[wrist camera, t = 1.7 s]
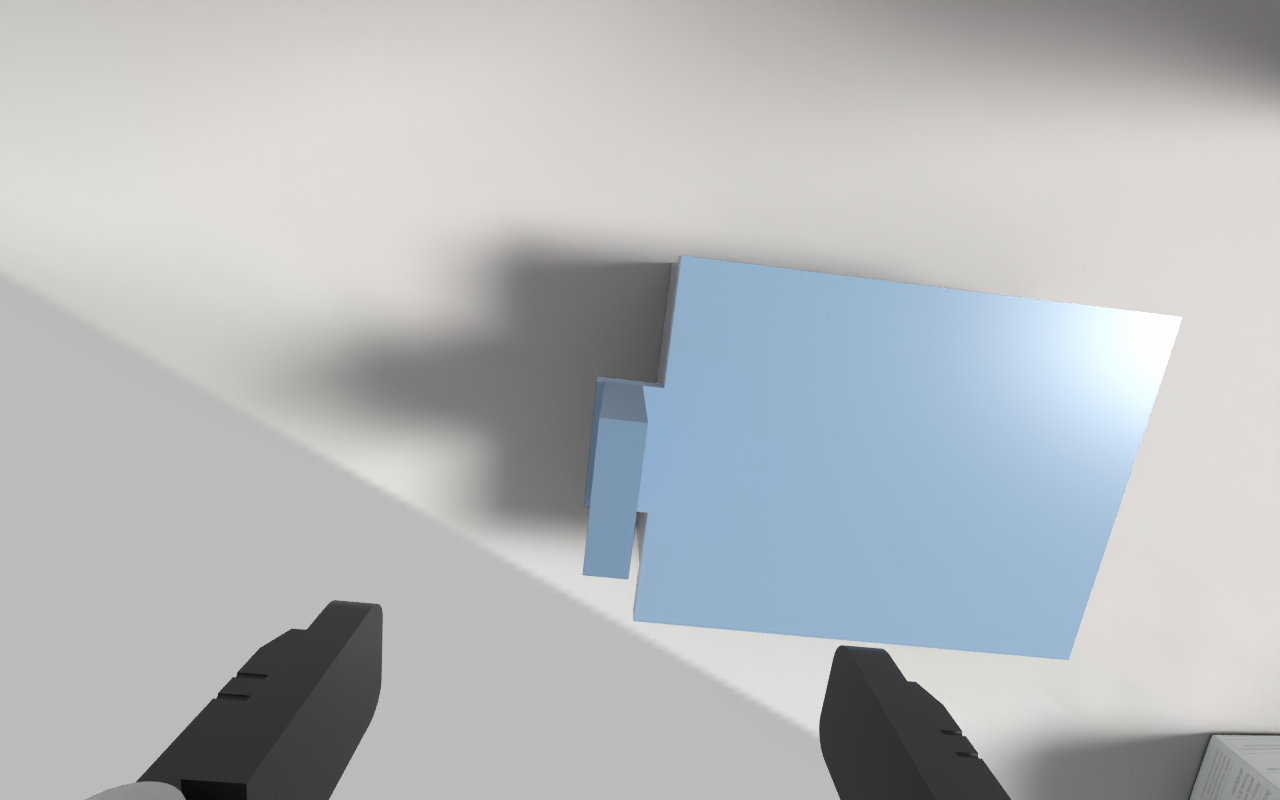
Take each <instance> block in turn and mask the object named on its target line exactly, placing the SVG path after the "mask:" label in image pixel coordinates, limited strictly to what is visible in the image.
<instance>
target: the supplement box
mask: <svg viewBox="0 0 1280 800" xmlns="http://www.w3.org/2000/svg"><path fill="white" fill-rule="evenodd" d="M1190 800H1280V736H1251V735H1213V736H1212V737H1211V740H1210V742H1209V745H1208V748H1207V750H1206V753H1205V756H1204V759H1203V762H1202V765H1201V768H1200V770H1199V773H1198V777H1197V779H1196V782H1195V785H1194V787H1193V791H1192V794H1191V797H1190Z"/></svg>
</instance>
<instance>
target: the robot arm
mask: <svg viewBox="0 0 1280 800" xmlns="http://www.w3.org/2000/svg"><path fill="white" fill-rule="evenodd" d="M382 617H383V615H382V608H381V606H380V605H379V604H371V603H359V602H348V601H336V600H334V601H332V602H330V603H329V604H328V605H327V606H326V608H325V609H324V610H323V611H322V612H321V614H320V615H319V616H318V617H317V618H316V619H315V620H314V622H313V623H312V624H311V625H310V627H309V628H308V629H307V630H301V629H291V630H289V631H287V632H286V633H284V634H282V635H281V636H279V637H277V638H276V639H274V640H272V641H271V642H269V643H268V644H266V645H264V646H263V647H261V648H260V649H259V650H258V651H257V652H256V653H255V654H254V655H253V656H252V657H251V658H250V659H249V661H248V662H247V663H246V664H245V665H244V666H243V667H242V668H241V669H240V670H239V671H238V673H237V676H236V678H234V677H233V678H232V679H231V680H230V681H229V682H228V683H227V684H226V685H225V687H223V689H222V690H221V691H220V692H219V693H218V697H217V698H216V699H212V700H211V702H210V703H209V704H208V705H207V706H206V707H205V708H204V709H203V710H202V711H201V712H200V713H199V715H198V716H197V717H196V718H195V719H194V720H193V721H192V722H191V723H190V724H189V725H188V726H187V727H186V729H185V730H184V731H183V732H182V733H181V734H180V735H179V736H178V737H177V738H176V739H175V741H174V742H173V743H172V744H171V745H170V746H169V747H168V748H167V749H166V750H165V751H164V752H163V753H162V754H161V756H160V757H159V758H158V759H157V760H156V761H155V762H154V763H153V764H152V765H151V766H150V767H149V769H148V770H147V771H146V772H145V773H144V774H143V775H142V776H141V777H140V778H139V779H138V780H137V781H136V783H131V784H126V785H121V786H118V787H115V788H112V789H108V790H106V791H103V792H101V793H99V794H96V795H94V796H92V797H90V798H88V799H86V800H329V798H330V796H331V794H332V793H333V791H334V789H335V787H336V785H337V783H338V781H339V780H340V778H341V776H342V774H343V772H344V770H345V769H346V767H347V765H348V763H349V761H350V759H351V758H352V756H353V754H354V752H355V750H356V748H357V746H358V744H359V743H360V741H361V739H362V737H363V735H364V733H365V732H366V730H367V728H368V726H369V724H370V722H371V720H372V718H373V715H374V712H375V709H376V706H377V703H378V699H379V694H380V689H381V672H382V671H381V670H382V623H383V622H382V621H383V618H382ZM819 733H820V744H821V749H822V753H823V757H824V760H825V762H826V765H827V767H828V770H829V772H830V775H831V777H832V780H833V782H834V785H835V787H836V790H837V792H838V794H839V797H840V799H841V800H1011V799H1010V797H1009V796H1008V795H1007V793H1006V792H1005V790H1004V789H1003V788H1002V786H1001V785H1000V783H999V782H998V781H997V779H996V778H995V776H994V775H993V774H992V772H991V771H990V770H989V768H988V767H987V765H986V764H985V763H984V761H983V760H982V759H979V758H978V753H977V751H976V750H975V749H974V747H973V746H972V744H971V743H970V742H969V740H968V739H967V738H966V736H962V731H961V729H960V728H959V726H958V725H957V724H956V722H955V721H954V719H953V718H952V717H951V715H950V714H949V712H948V711H947V710H946V708H945V707H944V706H943V705H942V704H941V703H940V702H939V701H938V700H937V699H935V698H934V697H933V696H932V695H931V694H929V693H928V692H927V691H926V690H925V689H923V688H922V687H921V686H920V685H919V684H917V683H916V682H908V681H907V680H906V679H905V677H904V676H903V674H902V673H901V671H900V670H899V668H898V667H897V665H896V664H895V663H894V661H893V660H892V658H891V657H890V655H889V654H888V653H887V652H886V651H885V650H884V649H878V648H866V647H854V646H842V645H841V646H839V647H838V648H837V650H836V652H835V655H834V658H833V663H832V667H831V672H830V676H829V681H828V685H827V690H826V694H825V698H824V703H823V707H822V712H821V717H820V726H819Z"/></svg>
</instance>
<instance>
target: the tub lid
mask: <svg viewBox="0 0 1280 800" xmlns="http://www.w3.org/2000/svg"><path fill="white" fill-rule="evenodd" d="M1181 320H1182V317H1178V316H1169V315H1161V314H1153V313H1145V312H1137V311H1129V310H1121V309H1113V308H1105V307H1096V306H1088V305H1080V304H1072V303H1064V302H1056V301H1048V300H1040V299H1032V298H1023V297H1015V296H1007V295H999V294H991V293H983V292H975V291H967V290H959V289H950V288H942V287H934V286H926V285H918V284H910V283H902V282H894V281H886V280H877V279H869V278H861V277H853V276H845V275H837V274H829V273H821V272H813V271H804V270H796V269H788V268H780V267H772V266H764V265H756V264H748V263H740V262H731V261H723V260H715V259H707V258H699V257H691V256H683V255H680V257H679V265H678V272H677V280H676V287H675V295H674V303H673V310H672V318H671V326H670V333H669V341H668V349H667V356H666V364H665V371H664V379H663V384H661V383H652V382H644V381H635V380H626V379H617V378H608V377H599V376H598V378H597V384H596V394H595V403H594V413H593V423H592V432H591V442H590V451H589V461H588V471H587V480H586V490H585V500H584V506H585V507H590V510H589V520H588V529H587V539H586V548H585V557H584V567H583V575H587V576H597V577H608V578H619V579H628V577H629V570H630V562H631V554H632V546H633V538H634V530H635V522H636V514H637V512H645V513H646V516H645V524H644V532H643V539H642V547H641V555H640V562H639V570H638V577H637V585H636V593H635V600H634V608H633V618H634V621H639V622H650V623H661V624H672V625H683V626H694V627H706V628H717V629H728V630H739V631H750V632H761V633H772V634H784V635H795V636H806V637H817V638H828V639H839V640H851V641H862V642H873V643H884V644H895V645H906V646H918V647H929V648H940V649H951V650H962V651H973V652H985V653H996V654H1007V655H1018V656H1029V657H1040V658H1052V659H1063V660H1068V659H1069V656H1070V653H1071V650H1072V647H1073V644H1074V641H1075V638H1076V635H1077V632H1078V629H1079V626H1080V623H1081V620H1082V617H1083V614H1084V611H1085V608H1086V605H1087V602H1088V599H1089V596H1090V593H1091V590H1092V587H1093V584H1094V581H1095V578H1096V575H1097V572H1098V569H1099V566H1100V563H1101V560H1102V557H1103V554H1104V551H1105V548H1106V545H1107V542H1108V539H1109V536H1110V533H1111V530H1112V527H1113V524H1114V521H1115V518H1116V515H1117V512H1118V509H1119V506H1120V503H1121V500H1122V497H1123V494H1124V491H1125V488H1126V485H1127V482H1128V479H1129V476H1130V473H1131V470H1132V467H1133V464H1134V461H1135V458H1136V455H1137V452H1138V449H1139V446H1140V443H1141V440H1142V437H1143V434H1144V431H1145V428H1146V425H1147V422H1148V419H1149V416H1150V413H1151V410H1152V407H1153V404H1154V401H1155V398H1156V395H1157V392H1158V389H1159V386H1160V383H1161V380H1162V377H1163V374H1164V371H1165V368H1166V365H1167V362H1168V359H1169V356H1170V353H1171V350H1172V347H1173V344H1174V341H1175V338H1176V335H1177V332H1178V329H1179V326H1180V323H1181Z"/></svg>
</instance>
